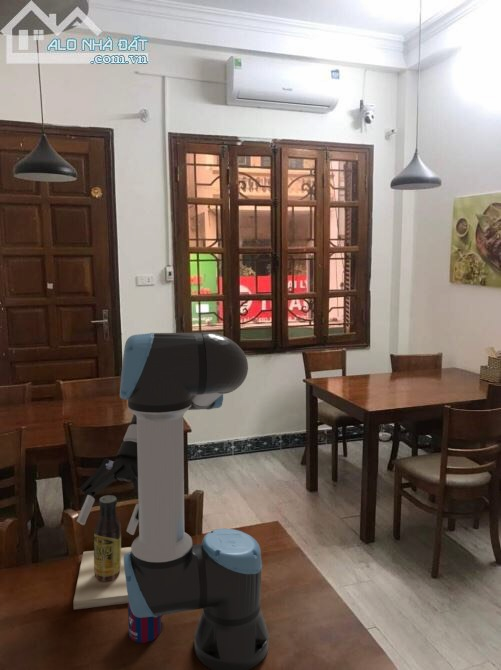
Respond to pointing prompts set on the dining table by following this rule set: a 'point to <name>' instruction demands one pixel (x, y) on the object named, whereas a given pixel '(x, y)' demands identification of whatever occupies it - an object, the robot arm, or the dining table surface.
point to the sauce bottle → (107, 541)
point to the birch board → (99, 585)
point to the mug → (143, 627)
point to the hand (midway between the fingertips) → (104, 528)
